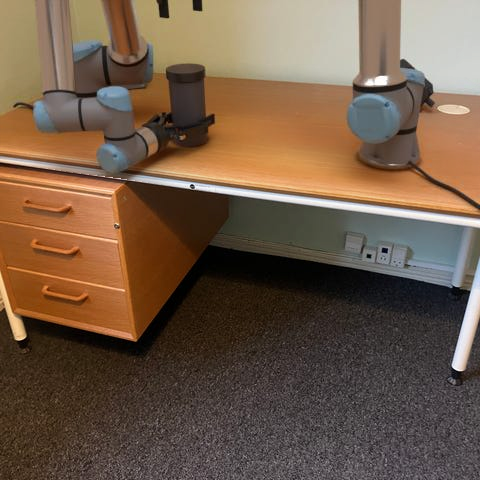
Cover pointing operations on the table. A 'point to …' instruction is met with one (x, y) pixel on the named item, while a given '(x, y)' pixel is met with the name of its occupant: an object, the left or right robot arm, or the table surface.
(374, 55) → the right robot arm
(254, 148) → the table surface
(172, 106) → the jar
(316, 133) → the table surface
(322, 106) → the table surface
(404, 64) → the tool
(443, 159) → the table surface
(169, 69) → the lid
